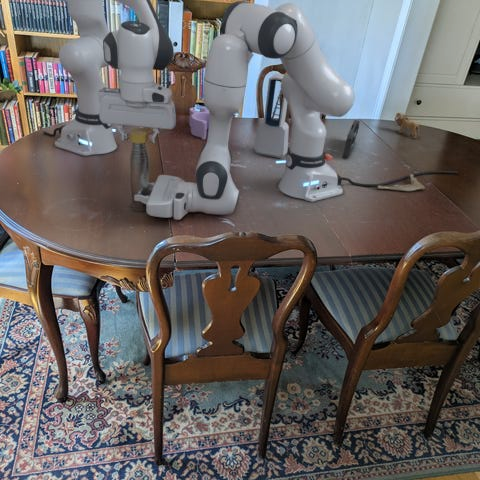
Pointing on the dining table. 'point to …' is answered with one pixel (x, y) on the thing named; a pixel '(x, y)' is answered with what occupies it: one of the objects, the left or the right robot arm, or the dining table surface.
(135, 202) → the bottle
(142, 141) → the cap
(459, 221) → the dining table surface
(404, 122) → the lion figurine
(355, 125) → the handheld gaming console
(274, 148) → the electronic device
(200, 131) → the clip
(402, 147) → the dining table surface
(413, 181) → the jawbone
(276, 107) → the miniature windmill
